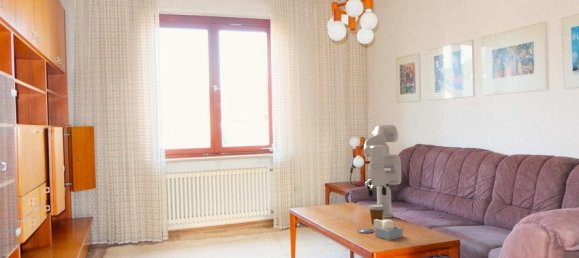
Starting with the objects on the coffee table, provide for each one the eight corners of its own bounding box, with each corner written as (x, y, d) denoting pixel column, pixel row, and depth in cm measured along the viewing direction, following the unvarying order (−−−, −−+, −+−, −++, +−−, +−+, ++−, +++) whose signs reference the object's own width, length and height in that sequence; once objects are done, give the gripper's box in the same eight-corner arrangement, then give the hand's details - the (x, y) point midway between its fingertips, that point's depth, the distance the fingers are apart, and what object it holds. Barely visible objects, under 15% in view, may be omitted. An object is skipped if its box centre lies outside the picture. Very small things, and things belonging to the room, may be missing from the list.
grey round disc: (365, 228, 269) (365, 227, 269) (377, 231, 261) (377, 230, 261) (353, 231, 264) (353, 230, 264) (365, 234, 256) (365, 233, 256)
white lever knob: (396, 236, 249) (395, 220, 249) (388, 238, 246) (388, 222, 246) (379, 231, 260) (378, 216, 260) (371, 233, 257) (371, 218, 256)
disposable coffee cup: (373, 226, 273) (372, 207, 273) (366, 223, 283) (366, 204, 282) (387, 224, 276) (386, 206, 276) (380, 221, 285) (379, 203, 285)
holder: (389, 232, 257) (388, 224, 257) (402, 236, 249) (402, 227, 249) (375, 236, 251) (375, 227, 251) (388, 240, 242) (388, 231, 242)
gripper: (384, 165, 263) (385, 193, 263) (360, 167, 255) (361, 196, 255) (392, 166, 256) (393, 195, 256) (368, 167, 249) (369, 197, 249)
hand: (377, 195), depth 256 cm, fingers open, 9 cm apart
